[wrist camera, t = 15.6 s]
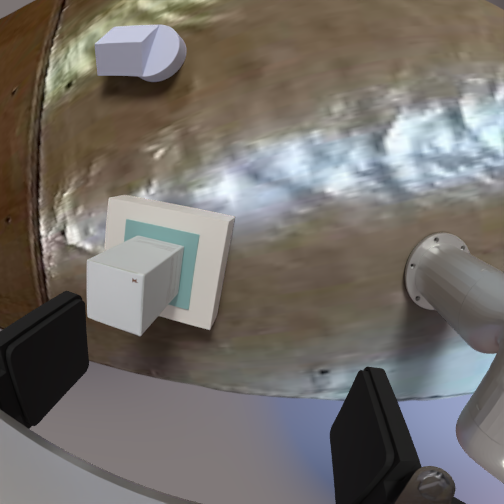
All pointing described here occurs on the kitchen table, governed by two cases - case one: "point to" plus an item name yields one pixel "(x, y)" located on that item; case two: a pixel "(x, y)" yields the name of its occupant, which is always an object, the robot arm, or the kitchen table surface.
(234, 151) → the kitchen table surface
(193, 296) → the stand
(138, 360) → the kitchen table surface
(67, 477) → the robot arm
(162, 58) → the wedge on round base
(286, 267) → the kitchen table surface
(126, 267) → the supplement box
